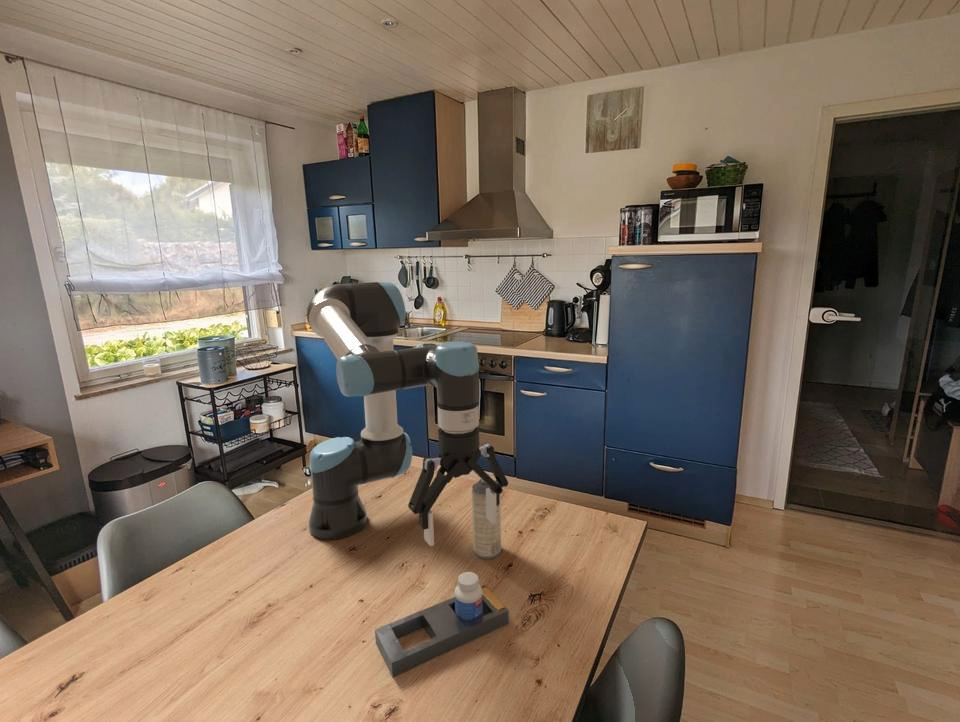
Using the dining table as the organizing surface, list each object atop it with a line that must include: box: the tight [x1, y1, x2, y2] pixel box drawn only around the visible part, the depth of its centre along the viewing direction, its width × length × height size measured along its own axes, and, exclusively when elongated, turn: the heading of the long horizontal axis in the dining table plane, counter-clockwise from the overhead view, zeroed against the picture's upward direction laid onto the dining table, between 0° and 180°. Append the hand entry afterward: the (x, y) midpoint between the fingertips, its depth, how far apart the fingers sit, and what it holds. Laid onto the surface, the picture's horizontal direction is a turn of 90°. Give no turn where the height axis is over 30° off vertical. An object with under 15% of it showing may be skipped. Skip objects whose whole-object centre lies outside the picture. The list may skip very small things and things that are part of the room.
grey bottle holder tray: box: [374, 584, 510, 678], centre depth 93 cm, size 9×24×3 cm, turn 120°
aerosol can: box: [471, 473, 502, 560], centre depth 117 cm, size 7×7×20 cm
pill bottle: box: [454, 571, 484, 625], centre depth 95 cm, size 6×5×10 cm
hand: (461, 531), depth 94 cm, fingers open, 13 cm apart
